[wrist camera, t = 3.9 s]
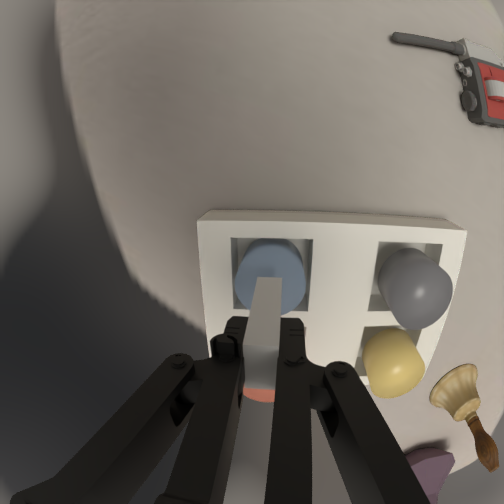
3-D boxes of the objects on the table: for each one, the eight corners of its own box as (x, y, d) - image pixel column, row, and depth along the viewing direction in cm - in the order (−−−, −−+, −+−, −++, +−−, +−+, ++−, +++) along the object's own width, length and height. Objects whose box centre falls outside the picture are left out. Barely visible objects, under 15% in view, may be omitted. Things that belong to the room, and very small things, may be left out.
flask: (404, 480, 39) (416, 549, 21) (355, 475, 38) (362, 560, 19) (463, 440, 34) (488, 513, 15) (423, 430, 32) (450, 528, 14)
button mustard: (367, 329, 23) (379, 358, 19) (416, 326, 22) (432, 353, 18) (357, 370, 24) (364, 400, 21) (402, 367, 24) (414, 394, 20)
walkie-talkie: (522, 67, 15) (385, 31, 17) (544, 63, 10) (401, 13, 13) (534, 136, 17) (403, 118, 20) (558, 138, 13) (425, 113, 16)
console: (209, 209, 24) (196, 220, 21) (445, 219, 22) (467, 230, 18) (220, 356, 30) (212, 381, 26) (411, 355, 27) (422, 378, 24)
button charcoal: (382, 246, 20) (401, 266, 16) (435, 248, 20) (459, 267, 16) (373, 304, 22) (386, 331, 18) (423, 302, 21) (442, 327, 18)
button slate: (241, 235, 23) (233, 252, 19) (304, 236, 23) (307, 253, 19) (243, 290, 25) (236, 315, 21) (301, 292, 24) (303, 317, 21)
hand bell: (484, 358, 27) (534, 437, 12) (465, 398, 30) (500, 473, 15) (439, 369, 28) (485, 465, 13) (422, 410, 31) (451, 496, 16)
